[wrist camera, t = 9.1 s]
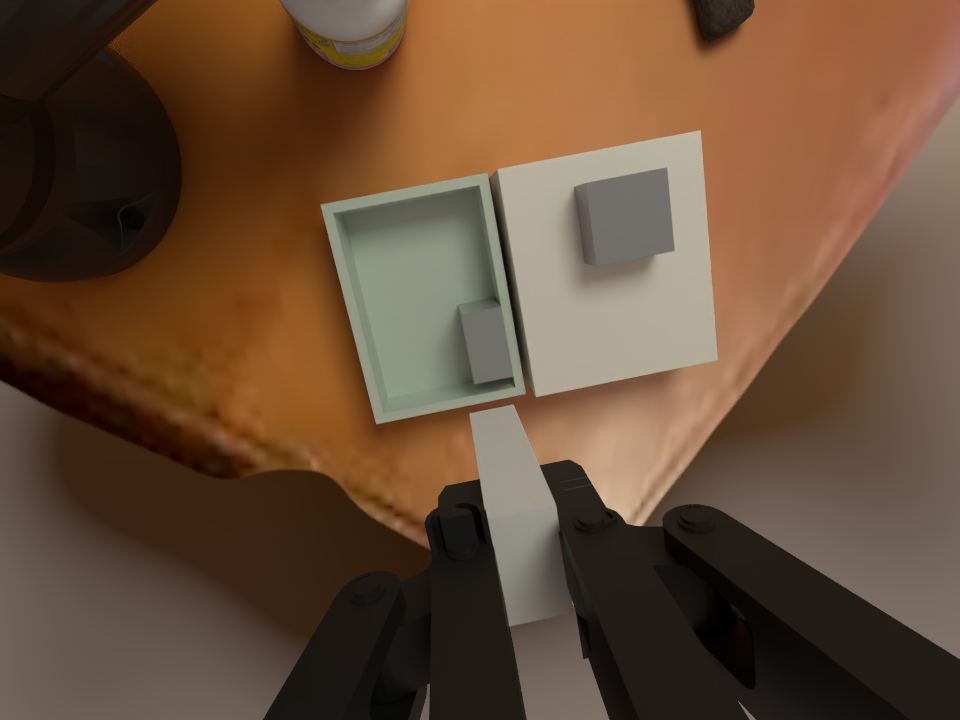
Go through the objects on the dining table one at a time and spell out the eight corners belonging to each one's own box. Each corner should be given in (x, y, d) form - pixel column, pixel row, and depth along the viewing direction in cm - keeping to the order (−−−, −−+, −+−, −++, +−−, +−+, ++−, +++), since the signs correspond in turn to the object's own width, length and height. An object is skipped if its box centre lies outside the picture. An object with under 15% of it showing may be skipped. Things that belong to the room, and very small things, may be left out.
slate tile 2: (584, 263, 32) (596, 266, 29) (574, 186, 30) (585, 182, 28) (656, 249, 32) (674, 250, 29) (649, 172, 31) (667, 167, 28)
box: (382, 404, 38) (376, 424, 34) (333, 207, 34) (320, 204, 31) (517, 377, 38) (525, 393, 34) (482, 179, 35) (487, 172, 31)
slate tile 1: (504, 359, 37) (470, 366, 37) (493, 297, 36) (458, 304, 36) (513, 376, 33) (474, 384, 33) (501, 306, 32) (460, 314, 32)
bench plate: (523, 376, 38) (536, 397, 33) (489, 177, 35) (497, 169, 30) (682, 344, 39) (717, 360, 34) (664, 144, 35) (700, 130, 30)
